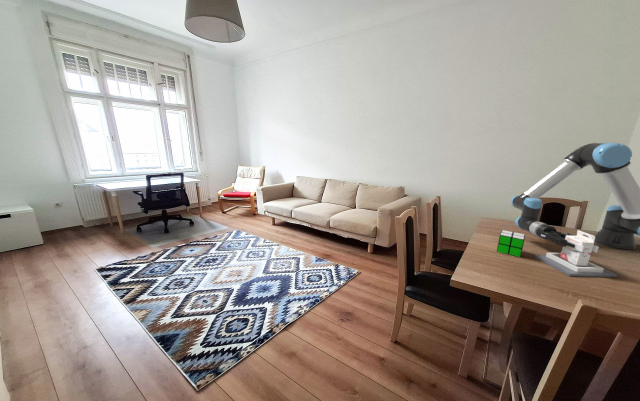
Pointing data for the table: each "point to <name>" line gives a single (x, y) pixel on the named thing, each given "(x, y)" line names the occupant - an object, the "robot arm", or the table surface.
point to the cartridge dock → (574, 266)
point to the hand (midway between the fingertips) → (590, 249)
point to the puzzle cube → (511, 243)
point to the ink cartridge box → (575, 255)
